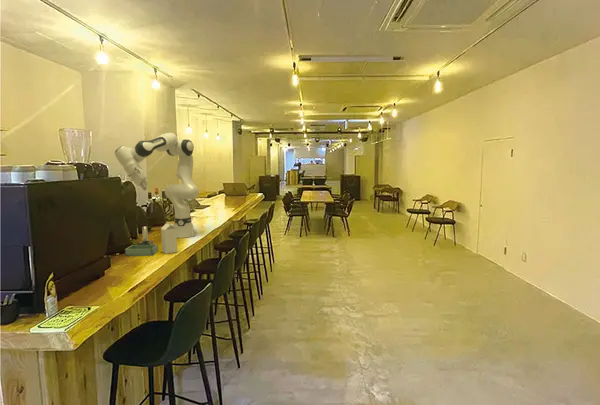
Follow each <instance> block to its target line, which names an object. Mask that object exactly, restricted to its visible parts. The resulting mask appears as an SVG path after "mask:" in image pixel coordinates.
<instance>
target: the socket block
mask: <svg viewBox="0 0 600 405" xmlns="http://www.w3.org/2000/svg"><path fill="white" fill-rule="evenodd" d="M137 245H154V241H153V240H148V243H143V240H141V241H139V242H138V243H137Z"/></svg>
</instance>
